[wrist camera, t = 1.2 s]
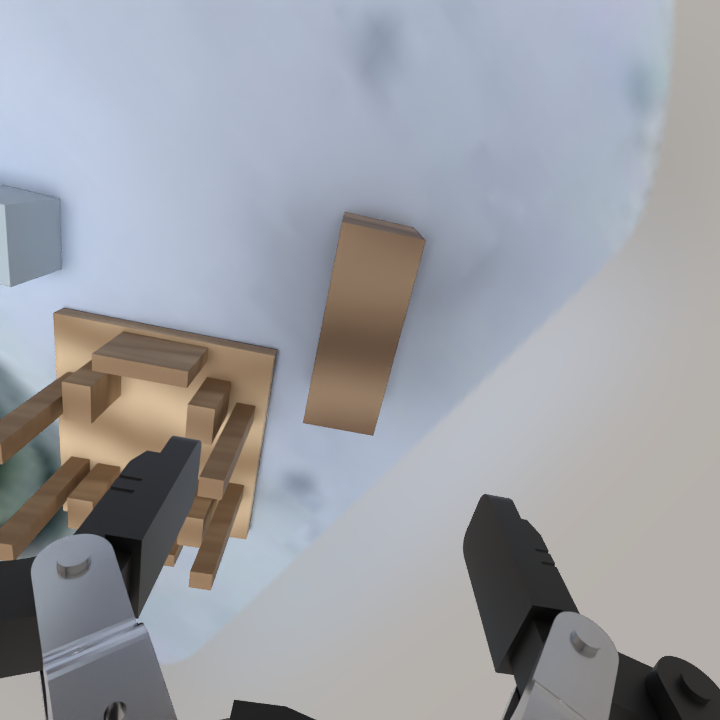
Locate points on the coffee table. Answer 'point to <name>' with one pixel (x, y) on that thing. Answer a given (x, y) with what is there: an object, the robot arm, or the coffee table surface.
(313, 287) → the coffee table surface
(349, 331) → the tan wooden beam
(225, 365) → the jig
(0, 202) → the gray rectangular block
